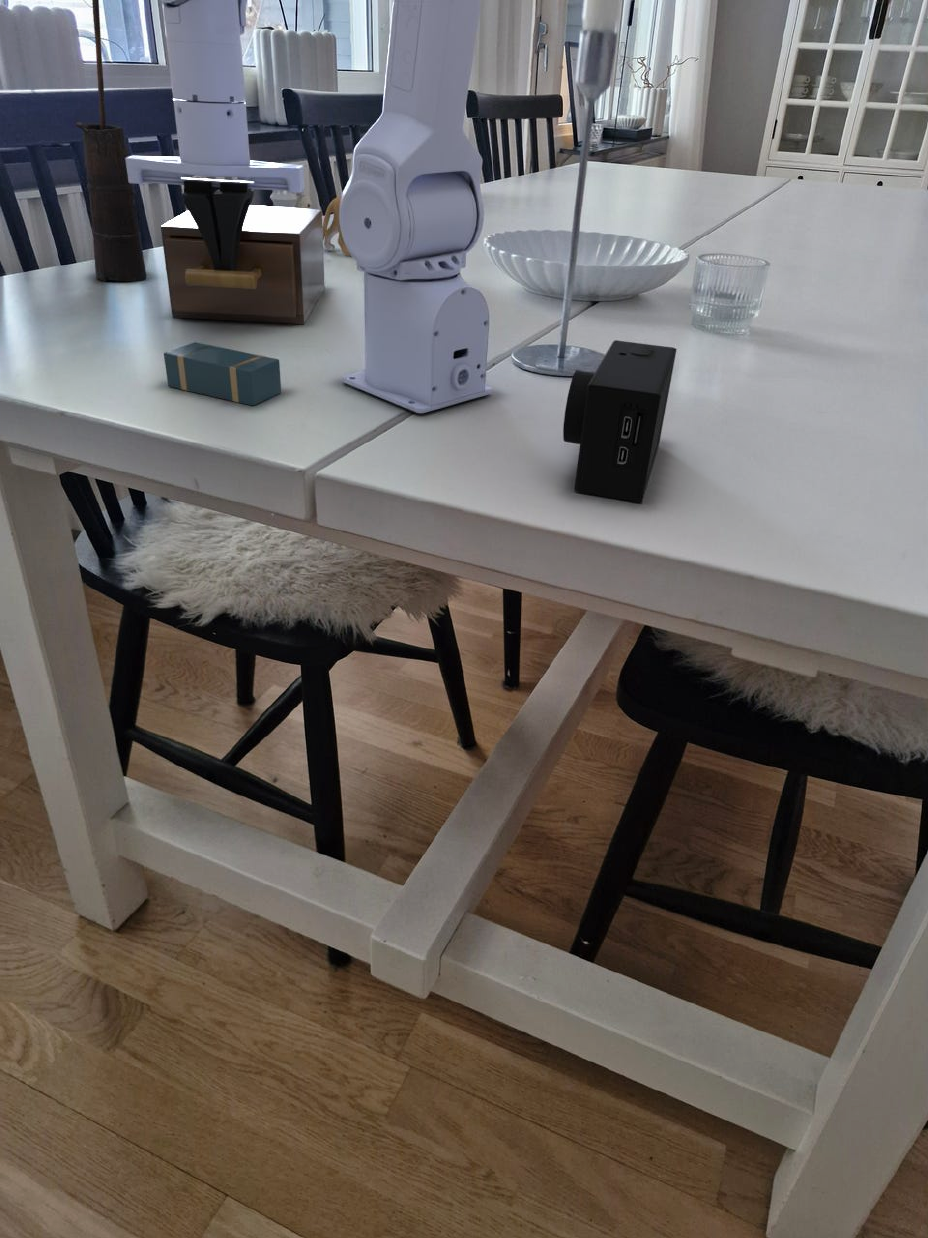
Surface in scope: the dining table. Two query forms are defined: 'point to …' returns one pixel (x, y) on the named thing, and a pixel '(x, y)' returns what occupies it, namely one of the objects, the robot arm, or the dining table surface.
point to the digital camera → (619, 419)
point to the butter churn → (111, 192)
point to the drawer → (233, 279)
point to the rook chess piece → (283, 198)
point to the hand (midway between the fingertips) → (226, 276)
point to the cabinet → (275, 227)
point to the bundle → (223, 373)
